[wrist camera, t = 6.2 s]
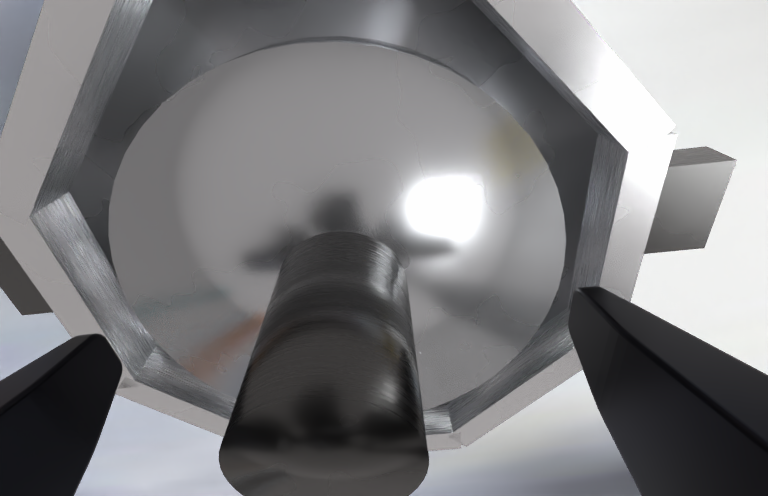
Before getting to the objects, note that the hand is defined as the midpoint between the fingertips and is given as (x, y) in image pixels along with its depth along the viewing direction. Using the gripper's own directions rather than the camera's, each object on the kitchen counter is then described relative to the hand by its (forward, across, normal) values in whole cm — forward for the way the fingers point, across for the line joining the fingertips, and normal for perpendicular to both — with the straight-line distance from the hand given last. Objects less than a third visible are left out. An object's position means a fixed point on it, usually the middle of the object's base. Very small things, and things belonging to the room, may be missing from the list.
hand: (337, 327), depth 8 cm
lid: (+2, 0, 0) cm, 2 cm away
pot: (+8, 0, 0) cm, 8 cm away
